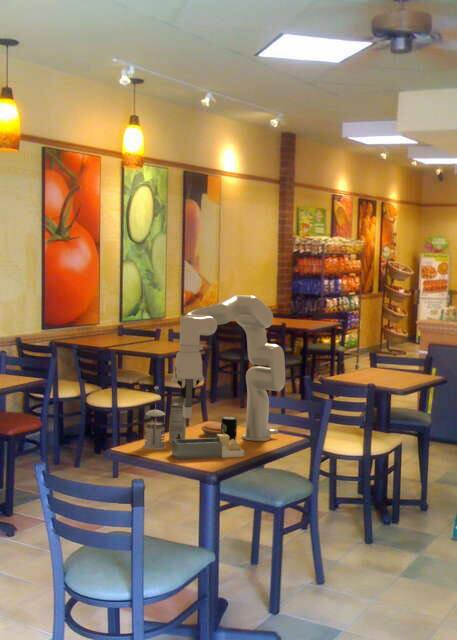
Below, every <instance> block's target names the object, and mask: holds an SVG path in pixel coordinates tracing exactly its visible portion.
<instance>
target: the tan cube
mask: <svg viewBox="0 0 457 640" xmlns="http://www.w3.org/2000/svg"><path fill="white" fill-rule="evenodd" d="M229 437H230V436H228V435H227V434H217V439H216V442H222V446H229Z"/></svg>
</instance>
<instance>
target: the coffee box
mask: <svg viewBox="0 0 457 640" xmlns="http://www.w3.org/2000/svg"><path fill="white" fill-rule="evenodd" d="M183 405H184V402H176V401H175V402H171V404H170V406H169V430H168V431H169V435H168V437H169V438H168V443H169V444H170V445H171V444H172V439H186V431H187V430H186V429H187V418H184V417H183V416H182V415H183Z"/></svg>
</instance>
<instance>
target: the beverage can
mask: <svg viewBox="0 0 457 640" xmlns="http://www.w3.org/2000/svg"><path fill="white" fill-rule="evenodd" d="M220 423H221V434H227V435H228V436H230V437H229V441H230V440H231V439H234V440H236V441H237V437H238V436H237V433H238V432H237V430H238V420H237V417H236V416H229V415H228V416H227V415H225V416H222V419H221V422H220Z"/></svg>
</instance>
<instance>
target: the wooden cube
mask: <svg viewBox="0 0 457 640" xmlns="http://www.w3.org/2000/svg"><path fill="white" fill-rule="evenodd" d="M226 447H227V449H228V451H239V450H240V449H242V448H241V447H240V445H239V443H238V441H237V439H236V440H234V439H231V440H230V441H229V446H226Z"/></svg>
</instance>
